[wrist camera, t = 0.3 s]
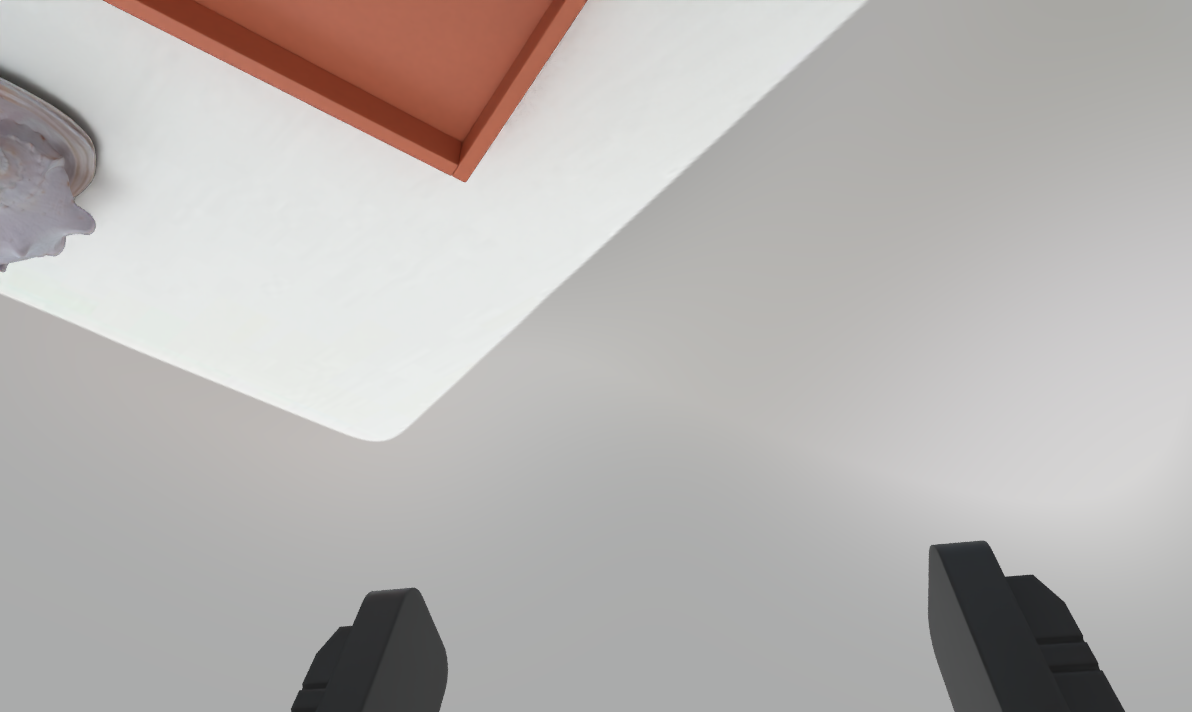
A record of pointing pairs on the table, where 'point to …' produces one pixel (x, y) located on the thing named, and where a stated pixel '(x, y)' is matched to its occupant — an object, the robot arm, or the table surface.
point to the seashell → (40, 176)
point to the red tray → (385, 61)
